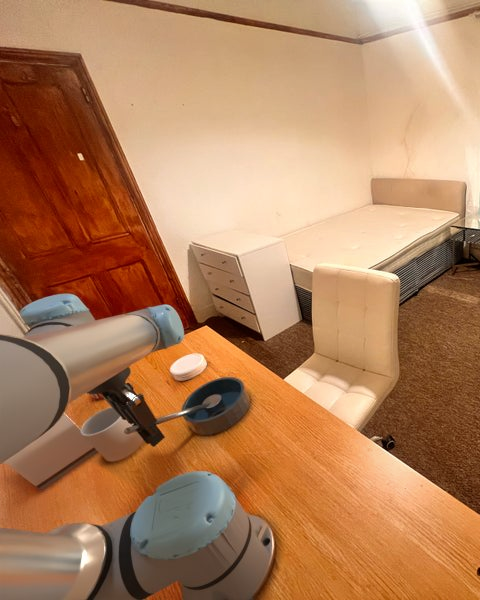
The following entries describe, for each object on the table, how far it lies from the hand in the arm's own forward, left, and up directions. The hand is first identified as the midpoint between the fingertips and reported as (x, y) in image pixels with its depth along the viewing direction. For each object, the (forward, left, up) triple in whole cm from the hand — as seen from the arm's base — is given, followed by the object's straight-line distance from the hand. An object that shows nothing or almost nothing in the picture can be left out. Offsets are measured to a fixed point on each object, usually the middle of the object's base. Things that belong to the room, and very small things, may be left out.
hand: (155, 440), depth 73 cm
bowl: (+15, -1, -7) cm, 17 cm away
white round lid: (+24, +24, -8) cm, 35 cm away
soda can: (+8, +42, -8) cm, 44 cm away
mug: (-2, +16, -8) cm, 18 cm away
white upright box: (-10, +26, -8) cm, 29 cm away
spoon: (+7, 0, -4) cm, 8 cm away
